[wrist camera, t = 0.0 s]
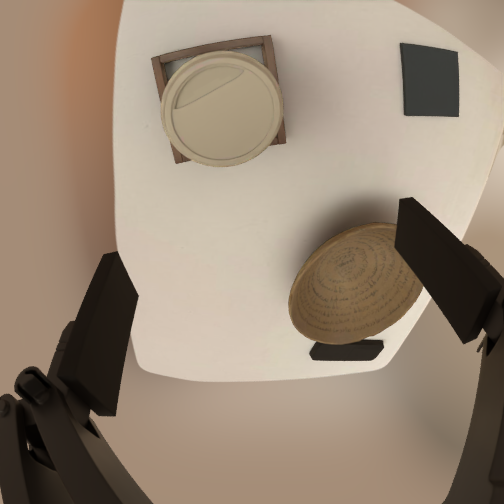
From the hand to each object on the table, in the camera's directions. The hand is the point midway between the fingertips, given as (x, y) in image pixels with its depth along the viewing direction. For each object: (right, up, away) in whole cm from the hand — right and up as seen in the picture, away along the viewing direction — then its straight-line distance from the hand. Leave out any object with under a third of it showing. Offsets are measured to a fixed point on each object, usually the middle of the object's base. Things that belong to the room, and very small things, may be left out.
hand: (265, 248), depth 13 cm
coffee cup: (-4, +15, +14) cm, 21 cm away
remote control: (+17, -18, +40) cm, 47 cm away
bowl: (+12, -1, +28) cm, 30 cm away
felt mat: (+21, +20, +14) cm, 33 cm away
